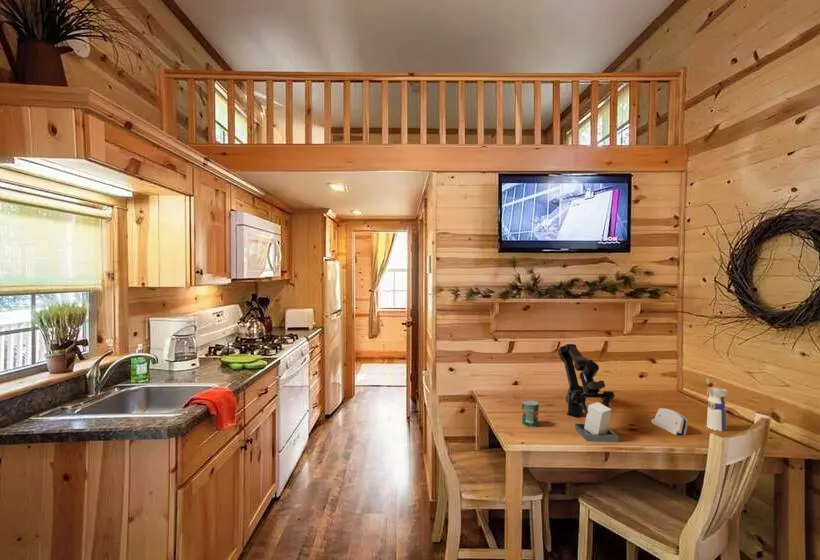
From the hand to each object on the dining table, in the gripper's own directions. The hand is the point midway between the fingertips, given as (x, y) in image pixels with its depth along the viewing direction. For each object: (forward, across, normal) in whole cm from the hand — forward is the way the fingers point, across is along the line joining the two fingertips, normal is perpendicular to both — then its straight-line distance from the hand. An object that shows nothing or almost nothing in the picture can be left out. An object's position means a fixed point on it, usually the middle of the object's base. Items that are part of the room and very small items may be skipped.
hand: (597, 412), depth 179 cm
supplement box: (+6, 0, +8) cm, 9 cm away
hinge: (-1, +40, +17) cm, 44 cm away
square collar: (+7, 0, +8) cm, 11 cm away
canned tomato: (-1, -28, +17) cm, 32 cm away
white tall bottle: (-2, +63, +18) cm, 66 cm away
